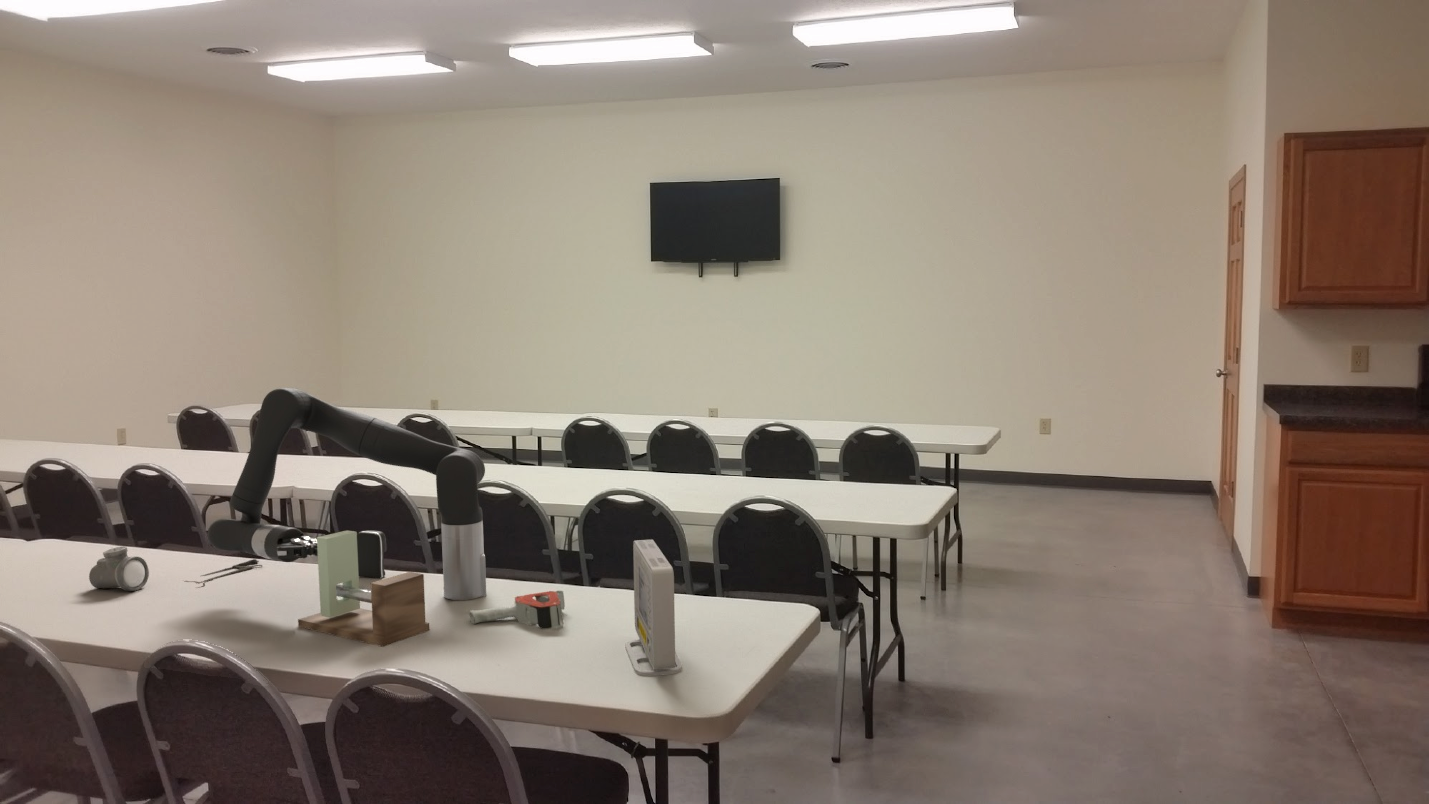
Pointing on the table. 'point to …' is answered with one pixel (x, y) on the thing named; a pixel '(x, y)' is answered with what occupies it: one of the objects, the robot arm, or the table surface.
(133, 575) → the pipe fitting
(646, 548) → the network device
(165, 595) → the table surface
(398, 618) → the base board
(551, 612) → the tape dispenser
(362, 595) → the pipe
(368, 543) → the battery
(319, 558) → the pale green tall slab
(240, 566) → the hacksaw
